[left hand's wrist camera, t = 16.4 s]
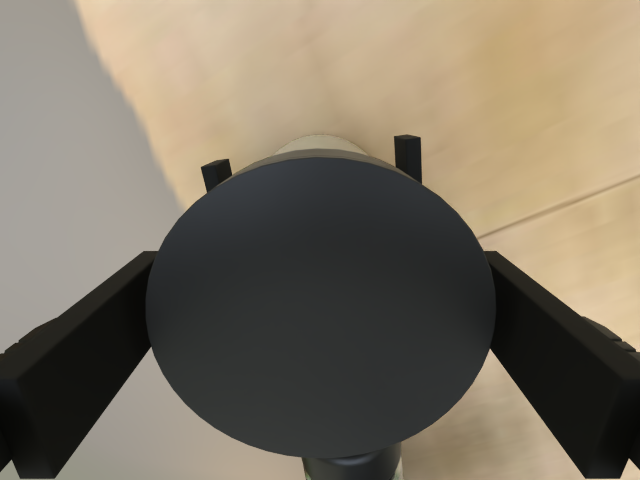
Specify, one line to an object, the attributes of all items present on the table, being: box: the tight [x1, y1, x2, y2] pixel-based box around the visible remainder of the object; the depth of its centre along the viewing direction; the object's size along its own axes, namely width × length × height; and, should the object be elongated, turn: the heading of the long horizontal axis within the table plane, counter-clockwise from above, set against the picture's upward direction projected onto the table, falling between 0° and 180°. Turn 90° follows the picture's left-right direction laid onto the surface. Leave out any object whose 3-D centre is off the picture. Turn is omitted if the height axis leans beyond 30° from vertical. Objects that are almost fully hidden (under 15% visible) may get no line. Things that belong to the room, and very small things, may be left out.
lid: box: [146, 148, 496, 458], centre depth 11 cm, size 10×10×2 cm
